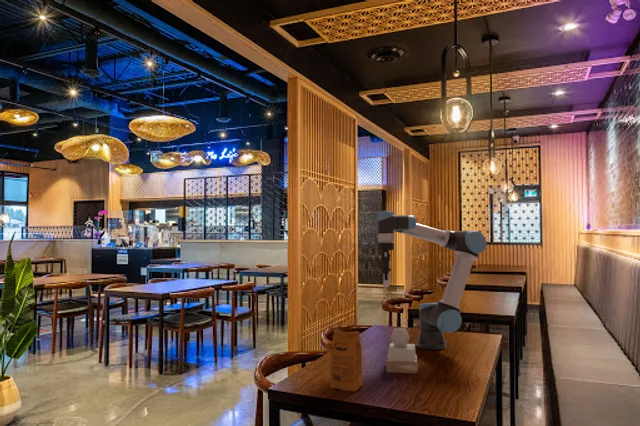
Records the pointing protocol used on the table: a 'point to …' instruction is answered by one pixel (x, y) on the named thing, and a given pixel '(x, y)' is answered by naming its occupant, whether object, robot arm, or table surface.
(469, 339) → the table surface
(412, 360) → the top slab
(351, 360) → the coffee package
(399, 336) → the die
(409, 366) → the bottom slab
